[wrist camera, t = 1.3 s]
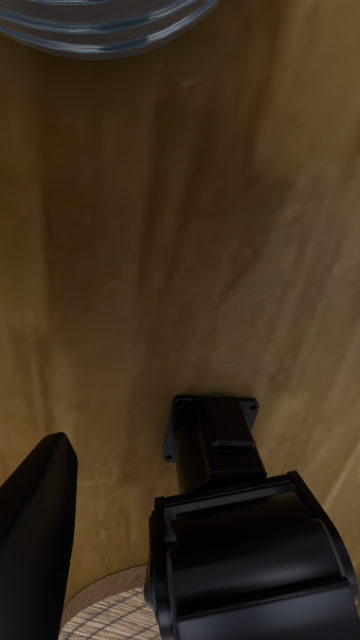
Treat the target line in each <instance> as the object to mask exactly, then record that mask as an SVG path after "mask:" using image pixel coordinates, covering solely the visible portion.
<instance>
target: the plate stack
mask: <svg viewBox="0 0 360 640" xmlns="http://www.w3.org/2000/svg"><path fill="white" fill-rule="evenodd" d="M222 1H223V0H0V35H2V36H4V37H7V38H9V39H11V40H13V41H16V42H18V43H20V44H22V45H24V46H27V47H29V48H31V49H35V50H38V51H41V52H45V53H48V54H52V55H55V56H58V57H65V58H72V59H79V60H115V59H120V58H126V57H131V56H136V55H140V54H143V53H145V52H148V51H151V50H154V49H156V48H159V47H162V46H164V45H166V44H167V43H169V42H171V41H173V40H174V39H176V38H178V37H180V36H181V35H183V34H185V33H187V32H188V31H189V30H191V29H192V28H193V27H194V26H196V25H197V24H198V23H199V22H201V21H202V20H203V19H204V18H206V17H207V16H208V15H209V14H210V13H211V12H212V11H213V10H214V9H215V8H216V7H217V6H218V5H219V4H220V3H221V2H222Z"/></svg>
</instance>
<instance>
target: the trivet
mask: <svg viewBox="0 0 360 640" xmlns="http://www.w3.org/2000/svg"><path fill="white" fill-rule="evenodd" d="M146 568H147V565H142V566H137V567H133V568H130V569H127V570H124V571H121V572H118V573H115V574H112V575H109V576H107V577H105V578H103V579H101V580H99V581H97V582H95V583H93V584H92V585H90V586H88V587H86V588H84V589H83V590H82V591H81V592H79V593H78V594H77V595H76V596H75V597H74V598H73V599H71V600H70V601H69V602H68V604H67V606H66V608H65V609H64V611H63V613H62V619H61V626H60V632H59V639H58V640H161V636H160V631H159V625H157V622H156V618H155V613H154V612H153V611H152V609H151V608H150V607H149V606H148V605H147V604H146V603H145V601H144V582H145V575H146Z"/></svg>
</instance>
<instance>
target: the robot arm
mask: <svg viewBox="0 0 360 640" xmlns="http://www.w3.org/2000/svg"><path fill="white" fill-rule="evenodd" d="M178 402H182V403H178ZM251 405H253V406H251ZM258 409H259V404H258V402H257V400H256V399H253V398H230V397H206V396H183V395H180V396H176V397H174V398H173V401H172V406H171V411H170V416H169V422H168V427H167V432H166V437H165V443H164V448H163V459H164V460H165V461H168V462H176V470H177V478H178V486H179V495H175V496H170V497H164V496H161V497H156V498H155V504H154V511H152V516H150V517H149V554H148V561H147V568H146V575H145V582H144V601H145V603H146V604H147V605H148V606H149V607H150V608H151V609H152V611H153V612H154V613H155V618H156V622H157V625H159V631H160V636H161V640H360V619H359V616H358V613H357V609H356V604H357V603H358V600H359V592H358V585H357V580H356V576H355V572H354V569H353V566H352V563H351V560H350V557H349V555H348V552H347V550H346V547H345V545H344V543H343V540H342V539H341V537H340V535H339V533H338V531H337V529H336V528H335V526H334V524H333V523H332V521H331V520H330V518H329V517H328V515H327V514H326V513H325V511H324V510H323V508H322V507H321V505H320V504H319V502H318V501H317V500H316V498H315V497H314V495H313V494H312V492H311V491H310V490H309V488H308V487H307V485H306V484H305V482H304V481H303V479H302V478H301V477H300V475H299V474H298V472H297V471H296V470H294V471H289V472H287V474H283V475H277V476H272V477H267V472H266V470H265V467H264V465H263V462H262V460H261V457H260V455H259V452H258V450H257V447H256V442H255V440H254V437H253V435H252V432H251V429H252V426H253V423H254V421H255V418H256V415H257V412H258ZM77 471H78V460H77V456H76V453H75V451H74V449H73V447H72V445H71V443H70V441H69V439H68V437H67V435H66V434H65V433H64V432H58V433H53V434H49V435H46V436H45V437H44V438H43V439H42V440H41V441H40V442H39V443H38V444H37V446H36V447H35V448H34V449H33V450H32V451H31V452H30V454H29V455H28V456H27V457H26V458H25V459H24V460H23V462H22V463H21V464H20V465H19V466H18V467H17V469H16V470H15V471H14V472H13V473H12V474H11V475H10V477H9V478H8V479H7V480H6V481H5V482H4V483H3V485H2V486H1V487H0V640H58V639H59V632H60V626H61V619H62V613H63V606H64V599H65V593H66V586H67V580H68V573H69V566H70V560H71V553H72V547H73V539H74V529H75V513H76V492H77Z"/></svg>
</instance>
